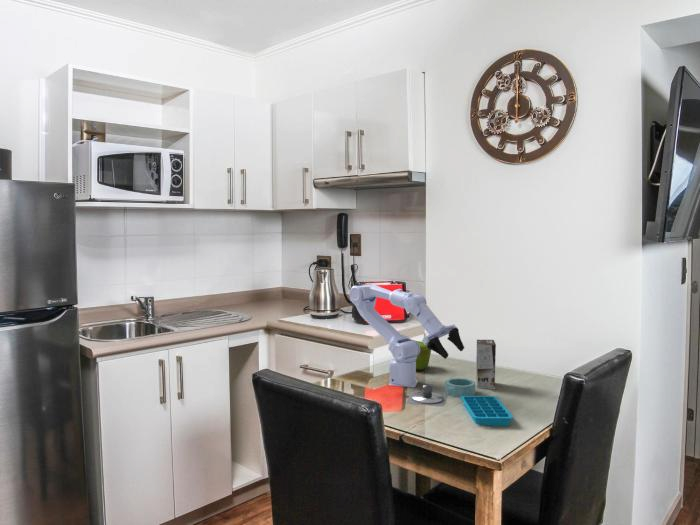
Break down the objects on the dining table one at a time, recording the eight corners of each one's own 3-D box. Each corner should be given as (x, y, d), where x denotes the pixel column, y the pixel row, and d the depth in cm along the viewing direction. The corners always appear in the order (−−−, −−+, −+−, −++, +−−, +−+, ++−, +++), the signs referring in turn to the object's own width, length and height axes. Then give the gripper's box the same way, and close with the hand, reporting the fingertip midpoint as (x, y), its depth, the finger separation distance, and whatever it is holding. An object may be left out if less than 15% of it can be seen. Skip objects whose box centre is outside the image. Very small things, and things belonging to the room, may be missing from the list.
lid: (409, 402, 175) (409, 388, 175) (414, 393, 185) (414, 379, 185) (441, 405, 173) (441, 391, 172) (444, 395, 183) (444, 382, 182)
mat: (406, 404, 175) (406, 402, 175) (412, 393, 186) (412, 392, 186) (443, 407, 172) (443, 406, 172) (447, 396, 183) (447, 395, 183)
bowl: (444, 396, 183) (444, 385, 182) (447, 388, 192) (447, 377, 192) (474, 399, 180) (474, 387, 180) (475, 390, 189) (476, 379, 189)
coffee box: (495, 390, 190) (496, 344, 189) (476, 388, 191) (477, 343, 190) (493, 382, 199) (494, 339, 198) (475, 381, 200) (476, 338, 199)
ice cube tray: (473, 428, 155) (473, 417, 155) (459, 404, 175) (459, 395, 175) (514, 428, 155) (514, 418, 155) (495, 404, 175) (495, 395, 175)
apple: (397, 364, 225) (397, 337, 224) (426, 363, 226) (426, 337, 225) (403, 372, 212) (404, 344, 212) (434, 372, 214) (434, 343, 213)
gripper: (419, 322, 181) (444, 353, 175) (449, 309, 189) (474, 339, 183) (412, 334, 186) (435, 365, 180) (441, 321, 194) (465, 351, 188)
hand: (454, 353), depth 182 cm, fingers open, 7 cm apart
